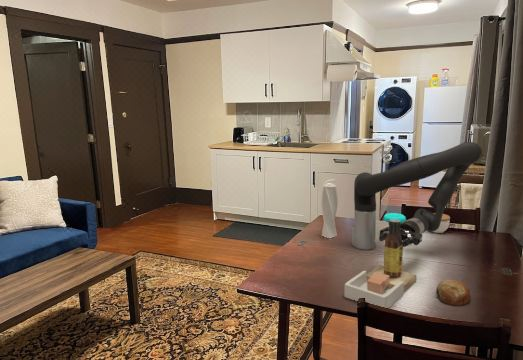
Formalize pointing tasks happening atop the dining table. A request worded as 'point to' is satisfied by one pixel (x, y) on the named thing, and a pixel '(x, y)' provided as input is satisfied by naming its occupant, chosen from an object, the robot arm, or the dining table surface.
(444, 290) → the bread roll
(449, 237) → the dining table surface
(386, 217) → the teal rounded shape
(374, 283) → the tile
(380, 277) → the tan block
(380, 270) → the board
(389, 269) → the sauce bottle
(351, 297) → the box
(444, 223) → the lidded jar
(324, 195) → the skyscraper
